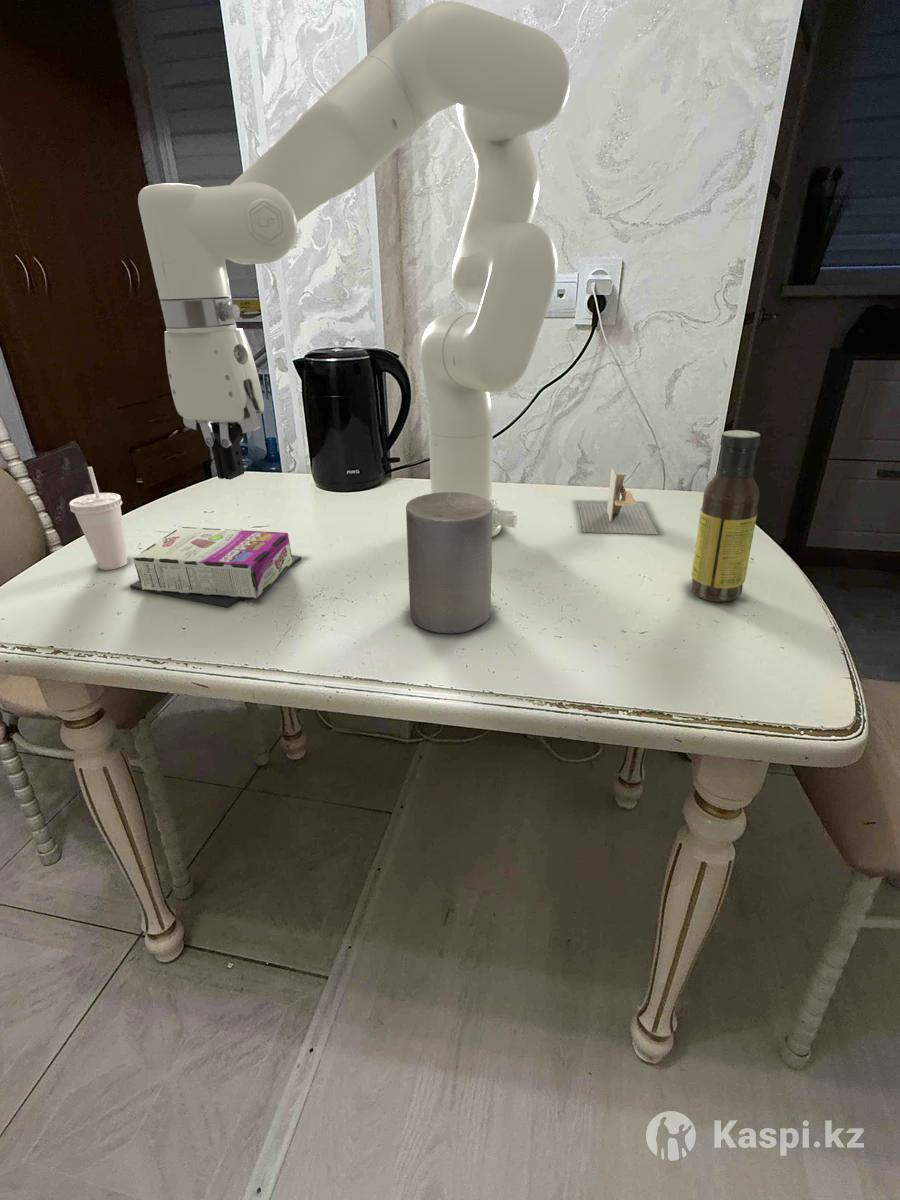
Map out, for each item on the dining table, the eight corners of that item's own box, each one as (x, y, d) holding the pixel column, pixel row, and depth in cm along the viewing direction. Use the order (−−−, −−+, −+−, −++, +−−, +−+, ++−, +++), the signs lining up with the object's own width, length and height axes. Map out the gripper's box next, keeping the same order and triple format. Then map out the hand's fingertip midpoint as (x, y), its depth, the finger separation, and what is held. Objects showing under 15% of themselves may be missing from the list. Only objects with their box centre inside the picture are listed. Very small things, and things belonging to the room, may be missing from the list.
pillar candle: (413, 595, 79) (408, 480, 72) (490, 596, 79) (492, 480, 72) (406, 634, 70) (399, 508, 64) (492, 635, 70) (495, 507, 63)
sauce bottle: (746, 589, 79) (782, 431, 70) (733, 608, 75) (770, 442, 66) (695, 577, 83) (722, 425, 74) (680, 595, 78) (707, 435, 69)
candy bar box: (294, 565, 87) (188, 556, 90) (289, 531, 85) (180, 524, 88) (257, 602, 78) (139, 591, 81) (250, 566, 75) (130, 555, 78)
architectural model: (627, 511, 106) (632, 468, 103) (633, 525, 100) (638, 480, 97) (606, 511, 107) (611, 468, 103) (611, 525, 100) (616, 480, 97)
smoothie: (147, 559, 91) (123, 464, 84) (109, 576, 86) (80, 477, 79) (116, 552, 93) (90, 460, 87) (78, 569, 88) (47, 471, 82)
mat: (301, 558, 90) (301, 556, 90) (227, 607, 77) (227, 604, 77) (213, 544, 96) (212, 542, 95) (130, 587, 82) (129, 585, 82)
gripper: (275, 313, 70) (298, 472, 79) (172, 314, 76) (205, 464, 84) (231, 318, 64) (262, 490, 73) (123, 319, 69) (164, 480, 78)
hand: (231, 475), depth 79 cm, fingers closed
